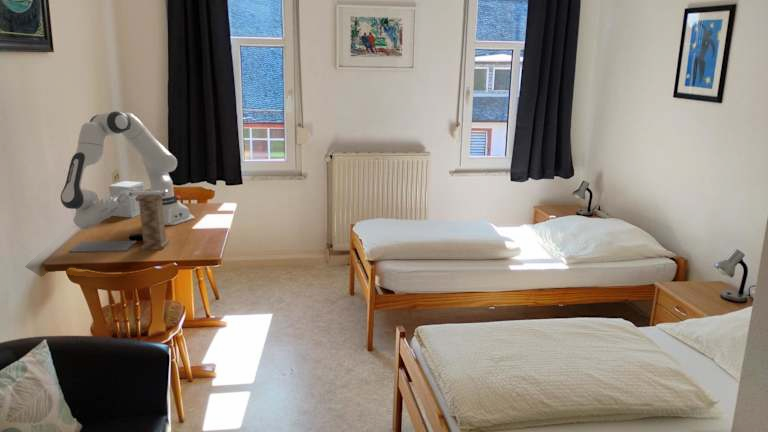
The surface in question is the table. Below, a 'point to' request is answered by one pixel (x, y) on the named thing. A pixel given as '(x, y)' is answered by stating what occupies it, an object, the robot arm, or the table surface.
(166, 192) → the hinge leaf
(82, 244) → the rubber mat
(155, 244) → the walnut stand
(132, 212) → the supplement box
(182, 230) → the table surface
